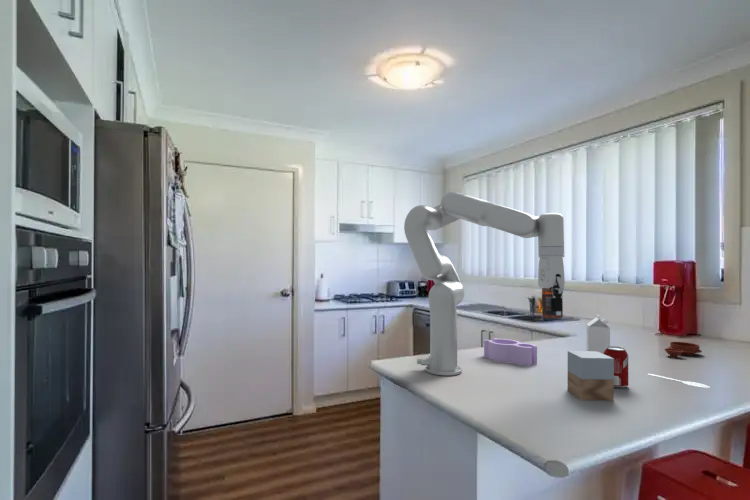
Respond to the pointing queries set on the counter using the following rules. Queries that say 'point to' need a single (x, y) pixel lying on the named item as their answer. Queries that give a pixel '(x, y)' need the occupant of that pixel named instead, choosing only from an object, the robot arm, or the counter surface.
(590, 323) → the milk carton
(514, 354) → the clip
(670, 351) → the pottery
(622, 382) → the soda can
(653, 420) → the counter surface
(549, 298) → the supplement bottle
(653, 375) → the spoon
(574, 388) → the tower base block
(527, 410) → the counter surface
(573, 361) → the tower top block
